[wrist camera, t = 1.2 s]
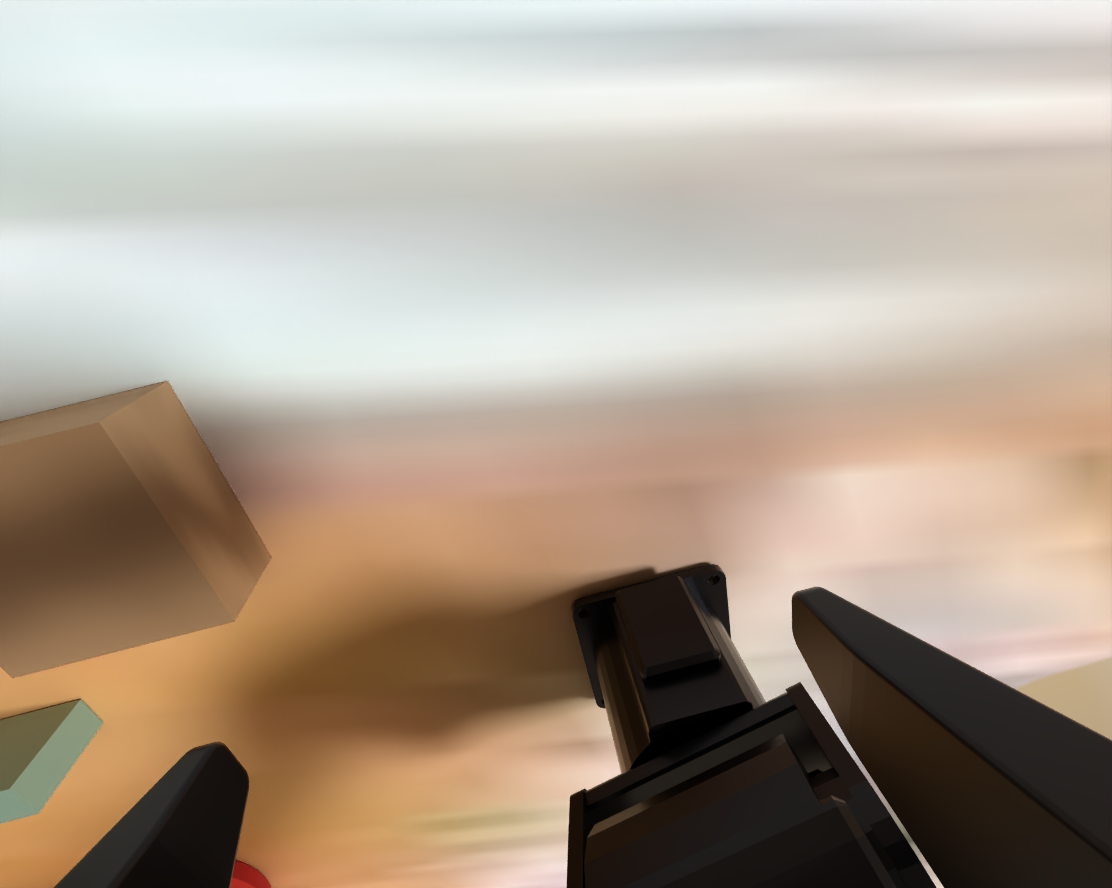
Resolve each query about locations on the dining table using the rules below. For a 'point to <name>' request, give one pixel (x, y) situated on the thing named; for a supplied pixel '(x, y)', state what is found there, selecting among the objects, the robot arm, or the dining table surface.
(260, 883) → the canned food
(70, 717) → the box
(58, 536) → the tan wooden block
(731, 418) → the dining table surface
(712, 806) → the robot arm
